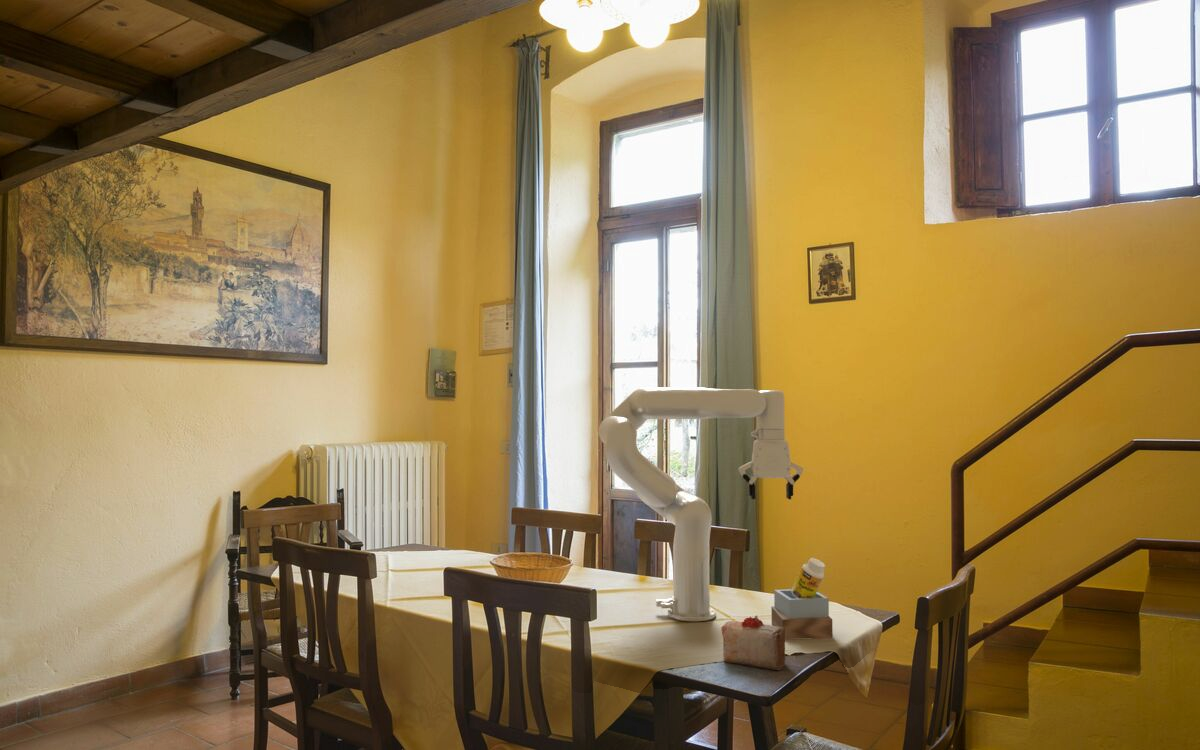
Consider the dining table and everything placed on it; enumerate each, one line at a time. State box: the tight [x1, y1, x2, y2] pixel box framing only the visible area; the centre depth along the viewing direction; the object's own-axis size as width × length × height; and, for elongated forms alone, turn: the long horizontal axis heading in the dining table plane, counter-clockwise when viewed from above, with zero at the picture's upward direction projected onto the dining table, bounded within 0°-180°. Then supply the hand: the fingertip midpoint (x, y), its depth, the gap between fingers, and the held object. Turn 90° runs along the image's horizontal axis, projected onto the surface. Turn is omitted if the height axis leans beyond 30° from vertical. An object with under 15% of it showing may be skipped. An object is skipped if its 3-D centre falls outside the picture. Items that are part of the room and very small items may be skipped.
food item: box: [721, 614, 786, 671], centre depth 178 cm, size 14×8×10 cm, turn 61°
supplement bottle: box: [791, 557, 826, 599], centre depth 201 cm, size 6×6×10 cm
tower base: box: [771, 606, 834, 639], centre depth 201 cm, size 12×12×5 cm
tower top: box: [773, 588, 830, 619], centre depth 202 cm, size 10×10×4 cm
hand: (770, 498), depth 221 cm, fingers open, 9 cm apart
